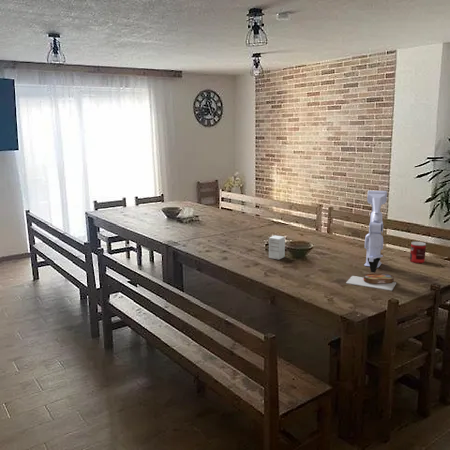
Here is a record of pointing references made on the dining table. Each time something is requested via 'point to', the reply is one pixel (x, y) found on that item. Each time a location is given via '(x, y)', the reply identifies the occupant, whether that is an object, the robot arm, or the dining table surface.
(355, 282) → the mat
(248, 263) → the dining table surface
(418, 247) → the canned food
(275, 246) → the supplement box
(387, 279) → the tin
